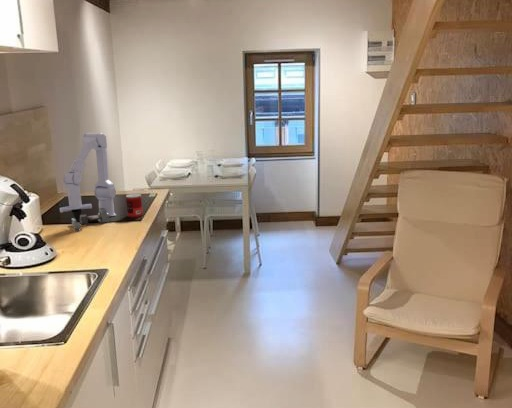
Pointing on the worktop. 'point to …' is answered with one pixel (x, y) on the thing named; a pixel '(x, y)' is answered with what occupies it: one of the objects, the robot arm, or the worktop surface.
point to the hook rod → (90, 218)
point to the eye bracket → (103, 216)
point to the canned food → (134, 205)
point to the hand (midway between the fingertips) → (77, 224)
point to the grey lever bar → (76, 224)
